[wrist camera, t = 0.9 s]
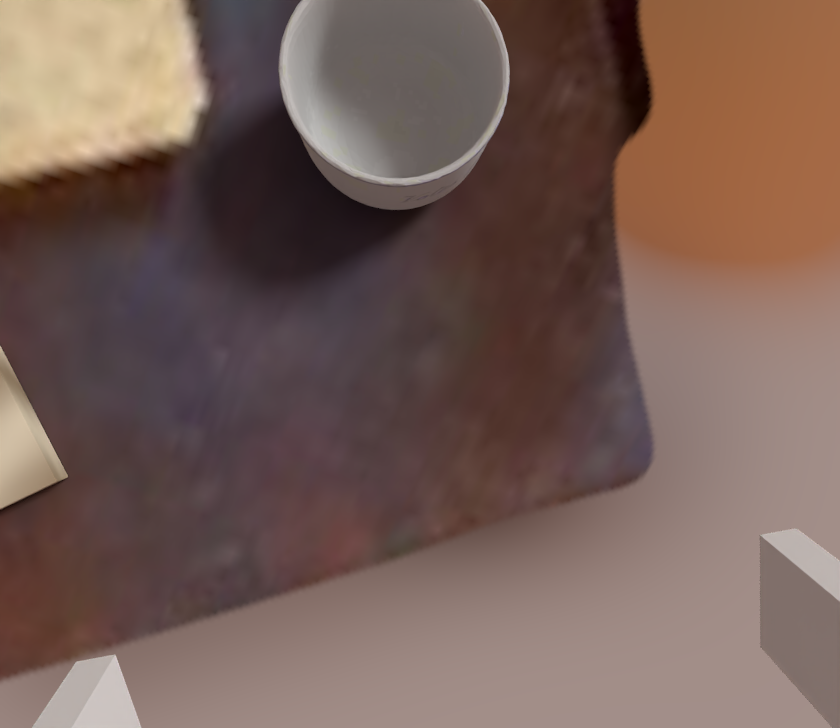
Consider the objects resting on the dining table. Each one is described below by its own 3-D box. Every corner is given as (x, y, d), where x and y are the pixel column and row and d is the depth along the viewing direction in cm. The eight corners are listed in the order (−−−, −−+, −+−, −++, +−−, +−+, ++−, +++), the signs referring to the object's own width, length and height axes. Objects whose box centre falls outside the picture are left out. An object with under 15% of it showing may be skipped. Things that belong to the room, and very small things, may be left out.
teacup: (417, 259, 35) (435, 228, 27) (260, 160, 34) (230, 97, 26) (534, 69, 36) (585, -16, 28) (384, -33, 35) (392, -152, 27)
